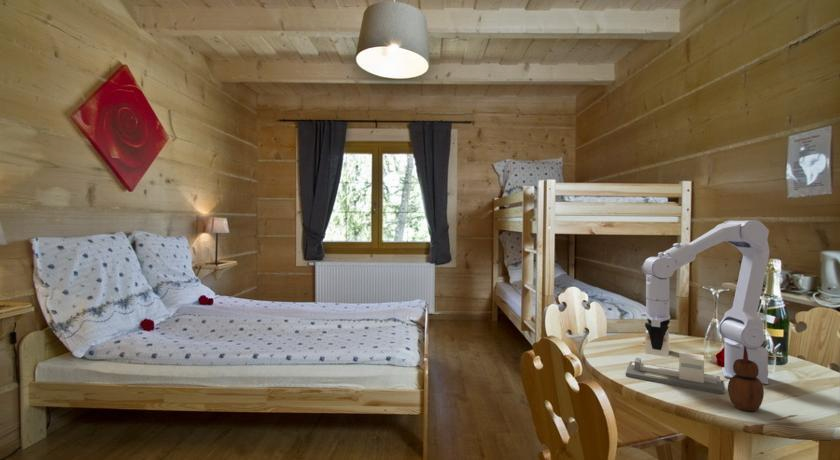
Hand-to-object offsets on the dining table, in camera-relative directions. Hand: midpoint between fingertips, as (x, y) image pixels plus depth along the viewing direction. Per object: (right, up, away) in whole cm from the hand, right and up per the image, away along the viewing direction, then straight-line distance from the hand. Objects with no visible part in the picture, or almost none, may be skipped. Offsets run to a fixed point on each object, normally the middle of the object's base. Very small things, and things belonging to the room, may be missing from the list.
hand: (657, 346), depth 114 cm
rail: (+3, -8, -2) cm, 9 cm away
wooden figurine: (+9, -9, -20) cm, 24 cm away
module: (0, -2, 0) cm, 2 cm away
